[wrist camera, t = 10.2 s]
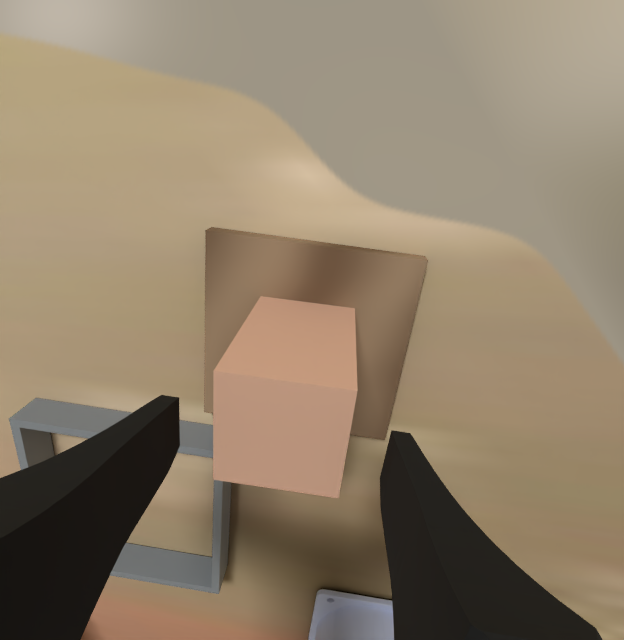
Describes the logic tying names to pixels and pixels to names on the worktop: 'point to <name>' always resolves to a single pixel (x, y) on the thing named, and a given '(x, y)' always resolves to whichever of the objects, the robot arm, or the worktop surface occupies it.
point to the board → (323, 288)
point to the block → (286, 398)
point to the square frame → (134, 559)
